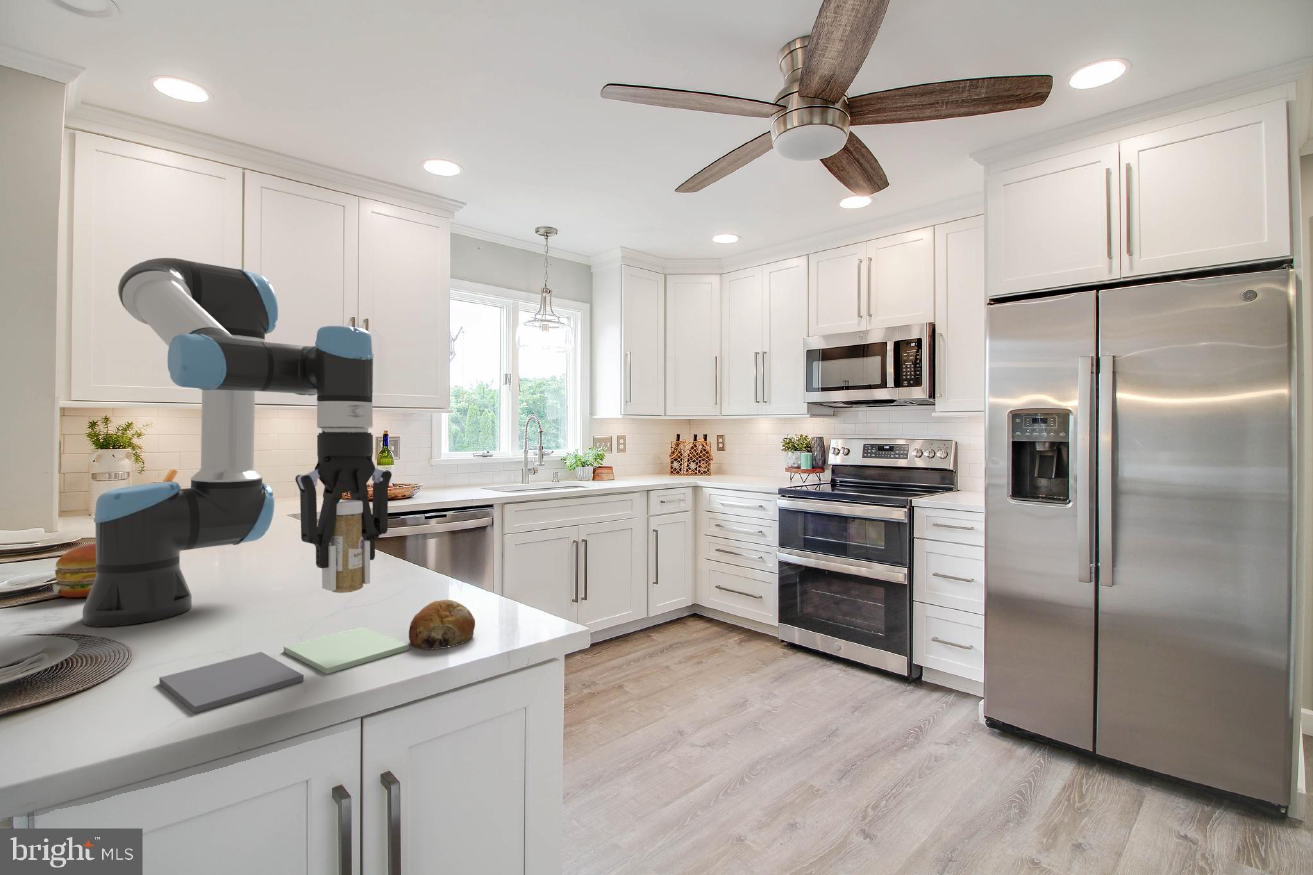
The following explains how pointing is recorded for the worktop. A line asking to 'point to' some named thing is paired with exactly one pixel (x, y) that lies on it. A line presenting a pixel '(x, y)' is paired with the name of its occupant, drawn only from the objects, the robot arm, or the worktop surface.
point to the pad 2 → (345, 649)
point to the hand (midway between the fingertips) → (346, 585)
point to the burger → (76, 572)
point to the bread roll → (441, 625)
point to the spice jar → (348, 545)
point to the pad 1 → (229, 681)
